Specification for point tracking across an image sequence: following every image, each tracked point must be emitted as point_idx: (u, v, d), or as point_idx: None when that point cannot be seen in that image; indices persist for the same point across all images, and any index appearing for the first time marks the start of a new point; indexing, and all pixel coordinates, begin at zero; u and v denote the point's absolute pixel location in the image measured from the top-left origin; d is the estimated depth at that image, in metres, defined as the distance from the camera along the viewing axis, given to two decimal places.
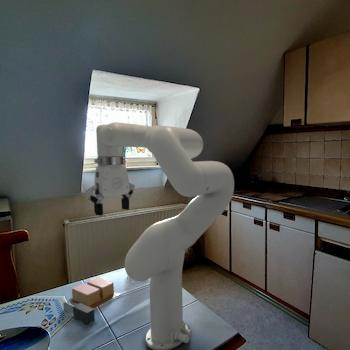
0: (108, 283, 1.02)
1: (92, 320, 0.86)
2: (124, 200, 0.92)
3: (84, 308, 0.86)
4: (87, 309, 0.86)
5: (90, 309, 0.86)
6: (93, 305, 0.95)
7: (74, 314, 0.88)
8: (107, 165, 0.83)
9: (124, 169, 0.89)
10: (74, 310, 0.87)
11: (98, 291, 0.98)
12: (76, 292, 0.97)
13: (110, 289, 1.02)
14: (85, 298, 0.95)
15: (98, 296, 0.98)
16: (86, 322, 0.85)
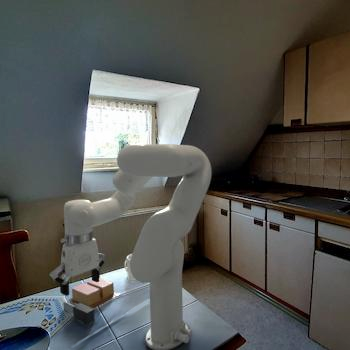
0: (108, 283, 1.02)
1: (92, 320, 0.86)
2: (94, 272, 0.90)
3: (84, 308, 0.86)
4: (87, 309, 0.86)
5: (90, 309, 0.86)
6: (93, 305, 0.95)
7: (74, 314, 0.88)
8: (74, 244, 0.81)
9: (93, 243, 0.87)
10: (74, 310, 0.87)
11: (98, 291, 0.98)
12: (76, 292, 0.97)
13: (110, 289, 1.02)
14: (85, 298, 0.95)
15: (98, 296, 0.98)
16: (86, 322, 0.85)
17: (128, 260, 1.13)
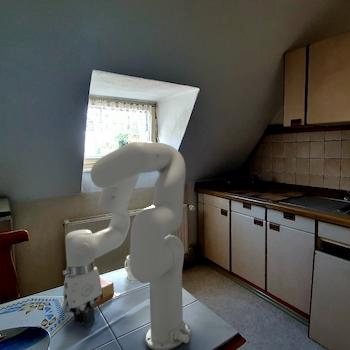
0: (108, 283, 1.02)
1: (92, 320, 0.86)
2: None
3: (84, 308, 0.86)
4: (87, 309, 0.86)
5: (90, 309, 0.86)
6: None
7: None
8: (76, 275, 0.82)
9: (95, 273, 0.87)
10: None
11: None
12: None
13: (110, 289, 1.02)
14: None
15: None
16: (86, 322, 0.85)
17: (128, 260, 1.13)
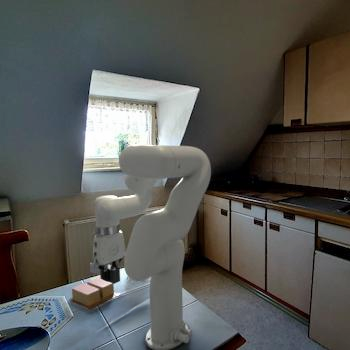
0: (108, 283, 1.02)
1: (118, 278, 0.94)
2: None
3: (111, 267, 0.94)
4: (113, 268, 0.94)
5: (116, 268, 0.94)
6: (93, 305, 0.95)
7: (101, 273, 0.96)
8: (105, 235, 0.90)
9: (120, 235, 0.95)
10: None
11: (98, 291, 0.98)
12: (76, 292, 0.97)
13: (110, 289, 1.02)
14: (85, 298, 0.95)
15: (98, 296, 0.98)
16: (113, 279, 0.93)
17: None
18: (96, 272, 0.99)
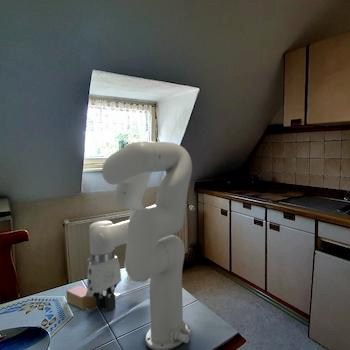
0: None
1: (113, 304, 0.92)
2: None
3: (106, 294, 0.93)
4: (108, 294, 0.92)
5: (111, 294, 0.93)
6: (93, 305, 0.95)
7: (96, 299, 0.94)
8: (99, 262, 0.89)
9: (115, 261, 0.94)
10: None
11: None
12: (70, 294, 0.96)
13: None
14: (79, 300, 0.93)
15: (93, 298, 0.96)
16: (108, 306, 0.91)
17: None
18: None
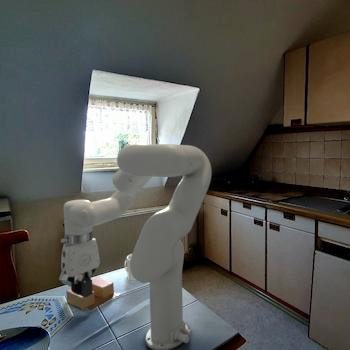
0: (108, 283, 1.02)
1: (90, 290, 0.85)
2: None
3: (82, 279, 0.86)
4: (85, 279, 0.85)
5: (88, 279, 0.85)
6: (93, 305, 0.95)
7: None
8: (74, 244, 0.81)
9: (93, 243, 0.87)
10: None
11: (93, 294, 0.96)
12: (70, 294, 0.96)
13: (110, 289, 1.02)
14: (79, 300, 0.93)
15: (93, 298, 0.96)
16: (84, 292, 0.84)
17: (128, 260, 1.13)
18: (67, 283, 0.90)
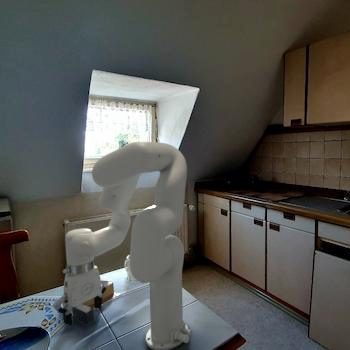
0: (108, 283, 1.02)
1: (91, 320, 0.86)
2: (96, 299, 0.91)
3: (84, 308, 0.86)
4: (86, 309, 0.86)
5: (89, 309, 0.86)
6: (93, 305, 0.95)
7: (73, 314, 0.88)
8: (76, 274, 0.82)
9: (95, 271, 0.87)
10: (73, 310, 0.87)
11: None
12: None
13: (110, 289, 1.02)
14: None
15: (93, 298, 0.96)
16: (85, 322, 0.85)
17: (128, 260, 1.13)
18: None
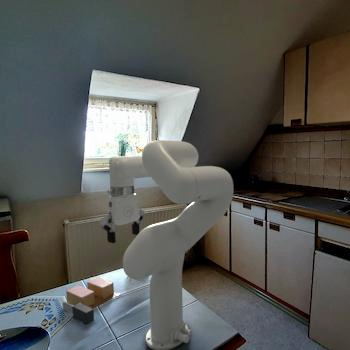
0: (108, 283, 1.02)
1: (91, 320, 0.86)
2: (134, 226, 0.96)
3: (84, 308, 0.86)
4: (86, 309, 0.86)
5: (89, 309, 0.86)
6: (93, 305, 0.95)
7: (73, 314, 0.88)
8: (119, 195, 0.88)
9: (134, 197, 0.93)
10: (73, 310, 0.87)
11: (93, 294, 0.96)
12: (70, 294, 0.96)
13: (110, 289, 1.02)
14: (79, 300, 0.93)
15: (93, 298, 0.96)
16: (85, 322, 0.85)
17: None
18: (69, 312, 0.91)
